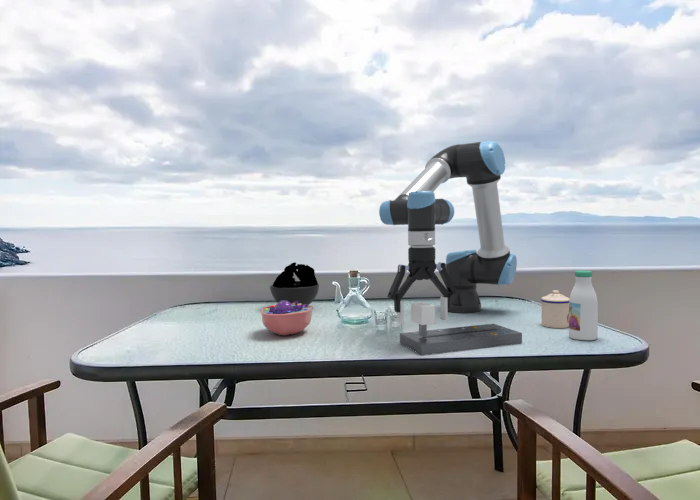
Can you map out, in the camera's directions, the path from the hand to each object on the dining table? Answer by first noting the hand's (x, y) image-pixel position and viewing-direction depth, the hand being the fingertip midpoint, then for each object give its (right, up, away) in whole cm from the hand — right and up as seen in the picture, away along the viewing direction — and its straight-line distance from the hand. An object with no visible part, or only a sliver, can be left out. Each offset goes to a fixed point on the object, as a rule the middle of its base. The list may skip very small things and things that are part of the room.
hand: (422, 321), depth 143 cm
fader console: (+12, -7, +4) cm, 14 cm away
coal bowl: (-43, -4, +66) cm, 79 cm away
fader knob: (0, -4, 0) cm, 4 cm away
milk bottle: (+49, -6, +7) cm, 49 cm away
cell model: (-41, -7, +23) cm, 47 cm away
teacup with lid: (+48, -5, +26) cm, 54 cm away
